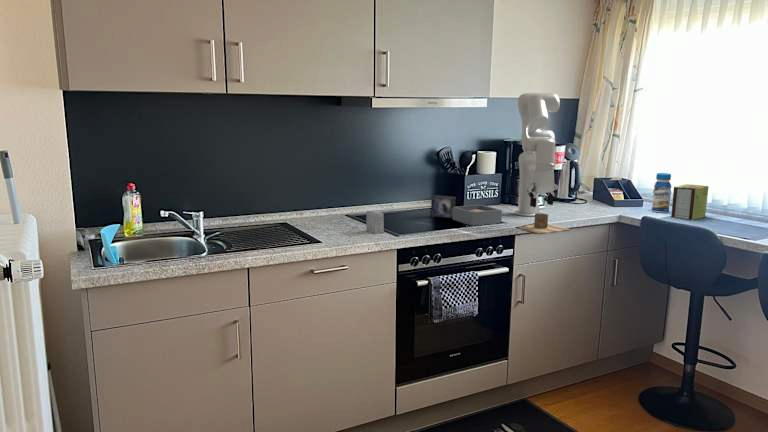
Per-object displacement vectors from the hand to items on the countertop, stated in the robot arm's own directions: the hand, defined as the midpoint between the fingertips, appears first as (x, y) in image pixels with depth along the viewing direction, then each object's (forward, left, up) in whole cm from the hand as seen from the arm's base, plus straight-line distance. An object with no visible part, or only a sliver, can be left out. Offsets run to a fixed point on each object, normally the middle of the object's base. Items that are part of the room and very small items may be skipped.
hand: (541, 205), depth 257 cm
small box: (+26, -39, -11) cm, 49 cm away
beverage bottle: (-87, -6, -11) cm, 87 cm away
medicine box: (+70, -24, -11) cm, 75 cm away
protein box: (-87, +10, -11) cm, 88 cm away
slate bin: (+19, -21, -10) cm, 31 cm away
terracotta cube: (+19, -21, -9) cm, 30 cm away
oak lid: (0, +1, -11) cm, 11 cm away
